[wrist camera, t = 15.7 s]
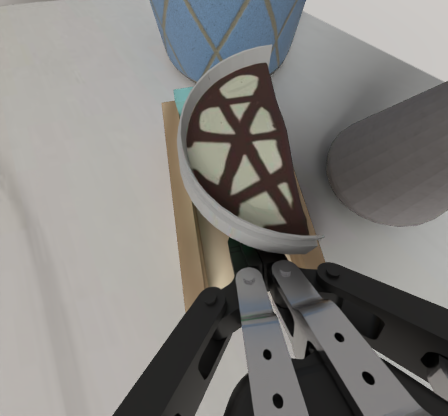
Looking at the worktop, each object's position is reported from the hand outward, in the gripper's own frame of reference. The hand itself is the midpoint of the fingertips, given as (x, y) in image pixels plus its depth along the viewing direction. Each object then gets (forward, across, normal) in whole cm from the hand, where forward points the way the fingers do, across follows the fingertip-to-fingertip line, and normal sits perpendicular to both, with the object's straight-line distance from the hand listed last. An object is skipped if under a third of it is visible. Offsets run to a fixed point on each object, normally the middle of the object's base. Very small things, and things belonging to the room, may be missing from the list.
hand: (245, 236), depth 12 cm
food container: (+7, 0, 0) cm, 7 cm away
